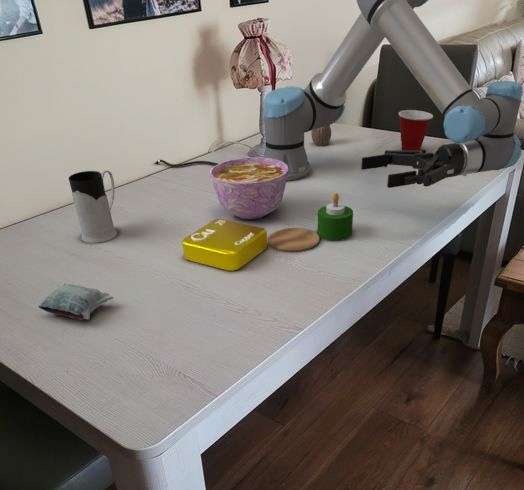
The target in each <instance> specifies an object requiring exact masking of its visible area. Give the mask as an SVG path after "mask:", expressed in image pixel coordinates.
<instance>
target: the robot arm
mask: <svg viewBox="0 0 524 490" xmlns="http://www.w3.org/2000/svg"><path fill="white" fill-rule="evenodd" d="M427 2H429V0H356V3H357V6H358V9H359V11H360V14H359V15H358V17H357V18H356V20H355V21H354V23H353V24H352V26H351V27H350V29H349V31H348V32H347V34H346V36H345V37H344V38H343V40H342V41H341V43H340V45H338V47H337V49H336V51H335V53H333V55H332V57H331V59H330V60H329V61H328V63H327V64H326V66H325V68H324V69H323V71H322V72H317V73H315V74H314V75H313V77H311V79H310V81H309V82H308V84H307V86H306V87H305V88H304V89H303V88H302V87H300V86H285V87H278V88H275V89H272V90H271V91H269V92H268V93H267V94H266V95H265V96H264V98H263V111H262V113H263V122H264V141H265V148H264V153H263V157H262V158H271V159H276V160H279V161H282V162H284V163H285V164H287V165H288V169H289V170H288V176H287V180H286V182H289V181H296V180H301V179H304V178H306V177H308V176H309V175H310V173H311V163H310V161H309V160H308V155H307V151H306V147H305V133H308V132H312V130H315V129H318V128H321V127H326V126H329V125H330V126H331V125H332V124H334V123H336V122H337V121H339V120H340V118H341V117H342V116H343V113H344V112H345V108H346V106H345V104H346V100H347V91H348V89H349V88H350V86H352V84H353V83H354V81H355V80H356V79H357V77H358V76H359V74H360V73H361V71H362V70H363V69H364V67H365V66H366V64H367V63H368V61H369V60H370V59H371V58H372V56H373V55H374V53H375V52H376V50H377V49H378V48H379V46H380V45H381V44H382V42H383V41H384V39H385V40H387V42H388V43H389V45H391V47H392V49H393V50H394V51H395V53H396V54H397V55H398V56H399V58H400V59H401V60H402V62H403V63H404V65H405V66H406V67H407V68H408V70H409V71H410V73H411V74H412V76H413V77H414V79H416V81H417V82H418V83H419V85H420V86H421V88H422V89H423V91H424V92H425V93H426V95H427V96H428V97H429V98H430V99H431V101H432V102H433V104H434V105H435V106H436V108H437V109H438V110H439V112H440V113H441V115H442V116H443V117H444V119H443V131H444V134H445V135H444V136H445V137H446V138H447V139H448V140H449V141H451V143H446V144H441V145H440V146H439V147H438V148H437V150H436V151H435V152H428V151H427V150H426V149H424V148H423V149H421V150H402V149H400V150H398V149H397V150H393V149H392V150H388V149H385V150H384V154H377V155H371V156H363V157H361V166H360V167H361V168H360V169H361V170H362V171H364V170H371V169H378V168H388V166H389V165H391V166H400V167H401V166H403V167H412V169H415V170H411V171H403V172H397V173H391V174H388V175H387V183H386V184H387V185H386V187H387V188H388V189H391V188H399V187H405V186H411V185H415V184H417V185H423V187H424V188H428V187H430V186H432V185H434V184H437V183H438V182H441V181H442V180H445V179H448V178H454V177H458V176H463V177H467V175H471V174H476V173H477V174H478V173H484V172H490V171H500V170H504V169H507V168H511V167H513V166H514V165H516V164H517V163H518V162H519V160H520V158H521V155H522V148H521V146H522V143H521V140H520V138H519V137H518V136H516V135H515V130H516V129H515V128H516V126H517V125H516V124H517V121H518V115H519V112H520V107H521V103H522V96H523V90H524V88H523V85H522V84H521V83H520V82H517V81H512V80H498V81H492V82H491V83H489V85H488V86H487V90H486V92H485V96H484V97H482V98H480V97H479V96H478V95H477V93H476V92H475V91H474V90H473V88H472V87H471V86H470V84H469V83H468V82H467V81H466V79H465V78H464V76H463V75H462V74H461V72H460V71H459V69H458V68H457V67H456V66H455V64H454V63H453V62H452V60H451V59H450V57H449V56H448V55H447V53H446V52H445V51H444V49H443V48H442V47H441V45H440V44H439V43H438V41H437V40H436V38H435V37H434V36H433V35H432V33H431V32H430V30H429V29H428V27H427V26H426V25H425V23H424V22H423V21H422V20H421V18H420V16H418V14H417V13H416V11H415V10H414V9H415V8H420V7H422V6H424V4H427ZM159 160H160V162H158V160H156V161H155V163H154V165H158V164H159V163H162V164H164V165H166V166H168V167H172V168H178V167H179V168H180V167H185V166H191V165H196V164H207V165H212V166H216V165H218V164H220V162H219V163H218V162H214V161H209V160H195V161H188V162H184V163H176V164H175V163H170V162H168V161H166V160H164V159H159Z"/></svg>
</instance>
